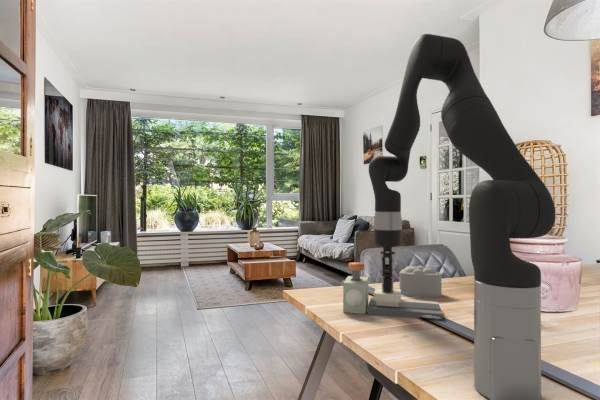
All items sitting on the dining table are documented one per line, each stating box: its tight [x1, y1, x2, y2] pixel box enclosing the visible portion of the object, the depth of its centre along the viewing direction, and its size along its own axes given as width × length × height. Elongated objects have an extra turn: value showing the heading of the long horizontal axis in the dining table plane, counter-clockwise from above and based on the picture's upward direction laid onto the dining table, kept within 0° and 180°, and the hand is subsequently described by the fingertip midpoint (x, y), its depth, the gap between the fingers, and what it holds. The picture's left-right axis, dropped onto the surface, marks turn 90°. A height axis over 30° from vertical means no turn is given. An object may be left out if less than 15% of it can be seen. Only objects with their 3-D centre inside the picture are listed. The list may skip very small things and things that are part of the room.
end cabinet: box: [342, 275, 370, 315], centre depth 107 cm, size 10×6×8 cm, turn 165°
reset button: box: [348, 261, 365, 281], centre depth 107 cm, size 4×4×7 cm
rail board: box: [366, 297, 444, 319], centre depth 104 cm, size 10×19×3 cm, turn 75°
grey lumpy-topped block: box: [398, 265, 443, 298], centre depth 126 cm, size 10×13×9 cm
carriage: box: [373, 271, 402, 307], centre depth 105 cm, size 7×7×8 cm
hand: (387, 289), depth 105 cm, fingers closed on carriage, 3 cm apart
